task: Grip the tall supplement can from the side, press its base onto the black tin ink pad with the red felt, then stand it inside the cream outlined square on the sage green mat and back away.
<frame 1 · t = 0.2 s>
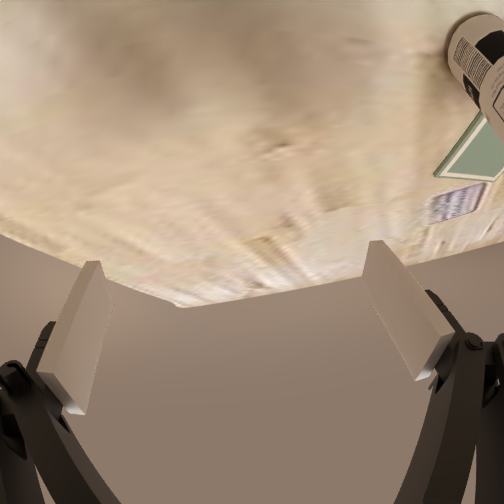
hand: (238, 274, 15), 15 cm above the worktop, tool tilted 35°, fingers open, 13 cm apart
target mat: (491, 147, 28), on the worktop
supplement can: (477, 46, 16), on the worktop
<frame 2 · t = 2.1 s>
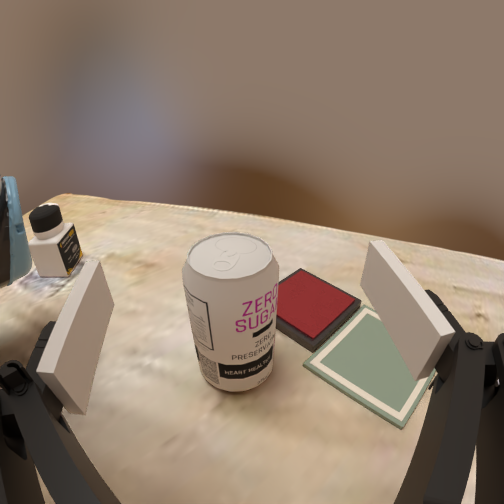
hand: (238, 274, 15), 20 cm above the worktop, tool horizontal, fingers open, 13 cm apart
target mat: (381, 360, 33), on the worktop
medicine bottle: (61, 267, 50), on the worktop
supplement can: (236, 366, 33), on the worktop
ink pad: (305, 308, 41), on the worktop
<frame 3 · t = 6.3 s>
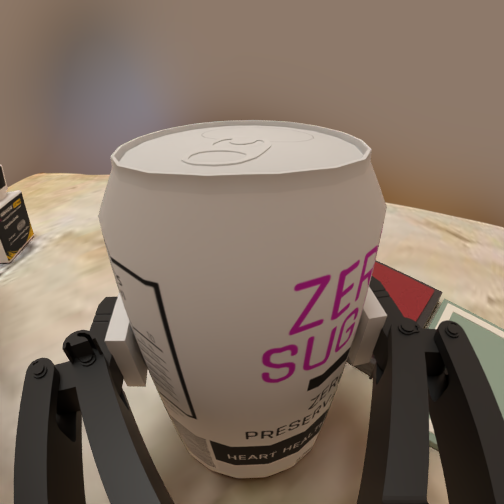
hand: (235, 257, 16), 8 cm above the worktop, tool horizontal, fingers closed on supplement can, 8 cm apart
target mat: (487, 386, 16), on the worktop
medicine bottle: (7, 251, 32), on the worktop
supplement can: (249, 419, 16), on the worktop, touching gripper
ink pad: (360, 307, 24), on the worktop
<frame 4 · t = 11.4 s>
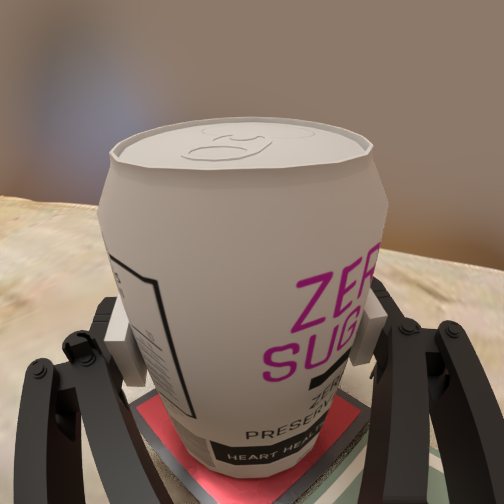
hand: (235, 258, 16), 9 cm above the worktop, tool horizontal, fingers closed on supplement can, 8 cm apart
supplement can: (249, 419, 16), point 1 cm above the worktop, touching gripper, ink pad
ink pad: (247, 427, 17), on the worktop
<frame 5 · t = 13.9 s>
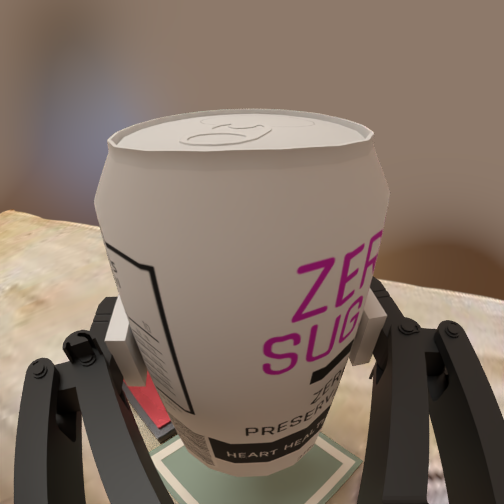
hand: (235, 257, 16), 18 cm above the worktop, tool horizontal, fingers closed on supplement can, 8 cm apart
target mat: (251, 470, 21), on the worktop
supplement can: (248, 417, 16), point 10 cm above the worktop, touching gripper
ink pad: (174, 378, 30), on the worktop
when the fingers open (10 cm above the worktop, at t = 16.3 s): supplement can drops 1 cm, resting on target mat.
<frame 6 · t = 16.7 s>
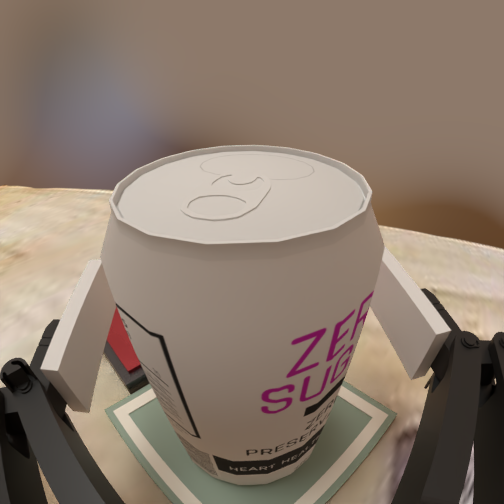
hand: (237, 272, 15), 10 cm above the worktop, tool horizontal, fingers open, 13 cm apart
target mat: (249, 429, 17), on the worktop
supplement can: (249, 428, 17), resting on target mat
ink pad: (155, 319, 25), on the worktop
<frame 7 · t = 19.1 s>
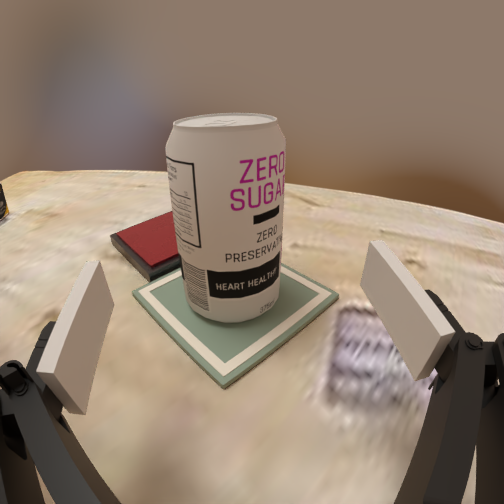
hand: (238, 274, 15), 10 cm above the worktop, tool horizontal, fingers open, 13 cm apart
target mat: (232, 298, 28), on the worktop
supplement can: (232, 296, 27), resting on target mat
ink pad: (169, 243, 36), on the worktop
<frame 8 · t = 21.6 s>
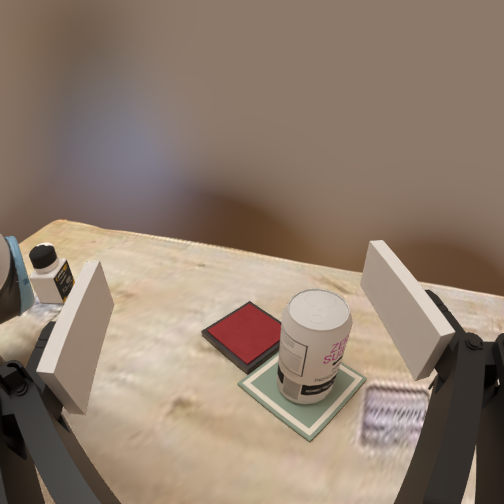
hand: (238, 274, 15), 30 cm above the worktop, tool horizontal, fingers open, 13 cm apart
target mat: (303, 384, 42), on the worktop
medicine bottle: (58, 294, 59), on the worktop
supplement can: (304, 383, 42), resting on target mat
ink pad: (248, 337, 50), on the worktop
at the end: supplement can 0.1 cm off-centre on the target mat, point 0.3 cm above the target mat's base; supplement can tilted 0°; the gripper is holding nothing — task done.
